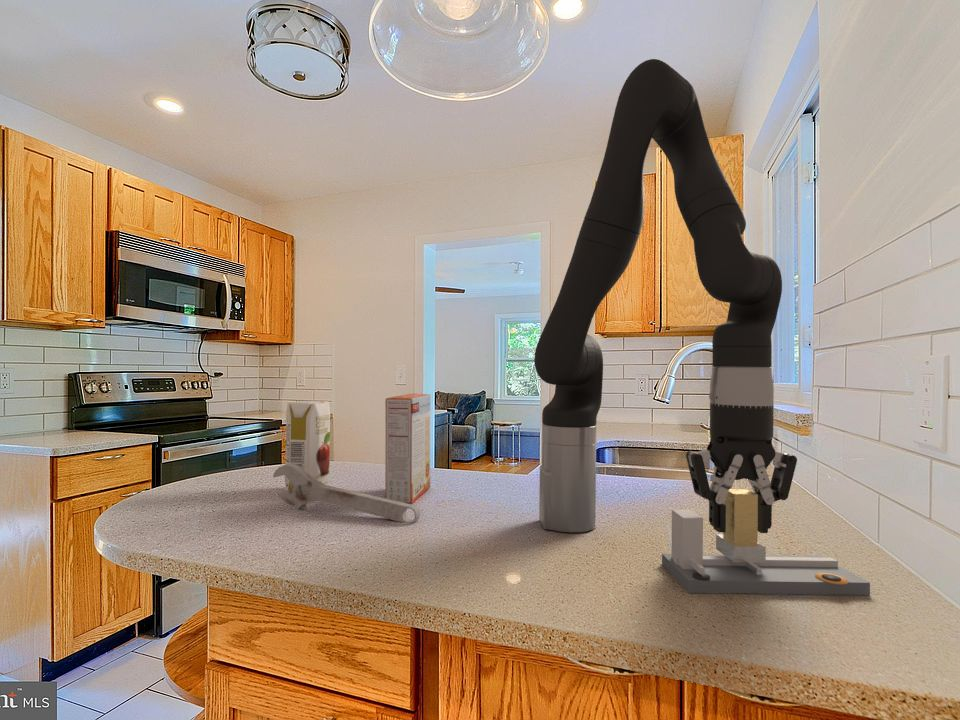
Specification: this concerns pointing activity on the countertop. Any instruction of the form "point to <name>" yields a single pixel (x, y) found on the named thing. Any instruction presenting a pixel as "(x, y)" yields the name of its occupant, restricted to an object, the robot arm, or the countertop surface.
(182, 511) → the countertop surface
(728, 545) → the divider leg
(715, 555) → the bolt plate
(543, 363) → the robot arm
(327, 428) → the juice carton
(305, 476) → the wrench
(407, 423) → the cracker box
